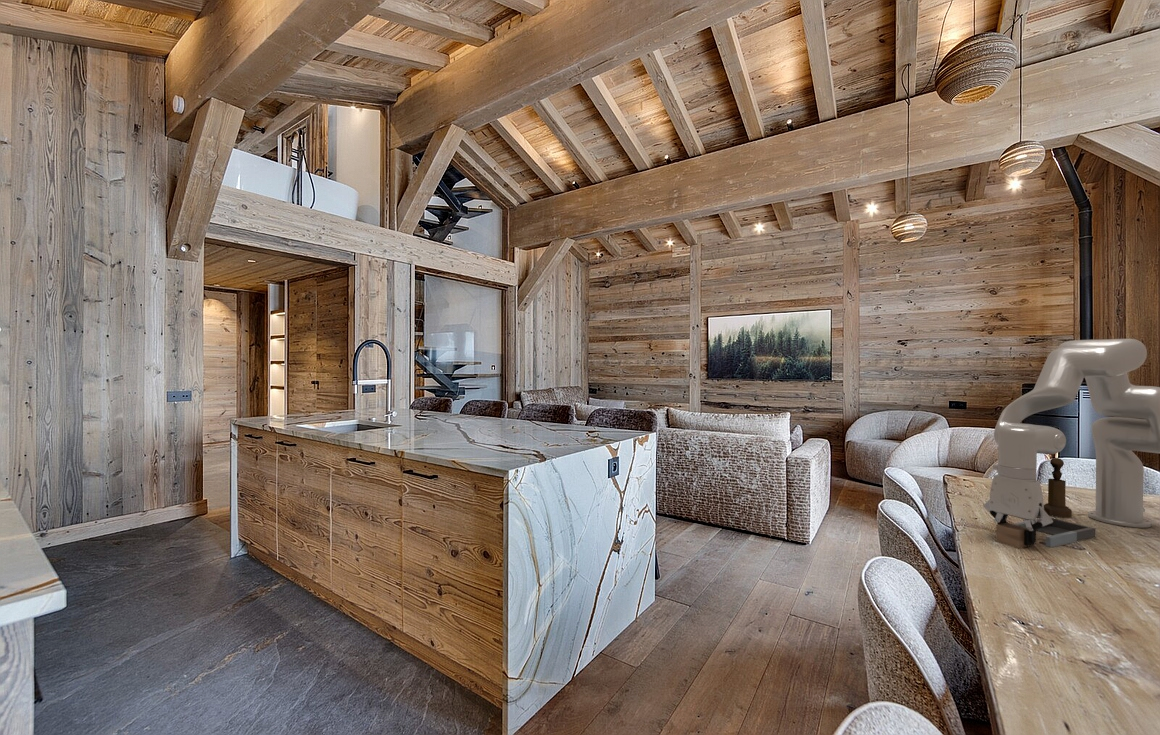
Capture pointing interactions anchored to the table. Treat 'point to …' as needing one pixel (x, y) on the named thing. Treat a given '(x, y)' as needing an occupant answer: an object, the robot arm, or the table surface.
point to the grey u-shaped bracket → (1064, 532)
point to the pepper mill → (1057, 493)
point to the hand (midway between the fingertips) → (1016, 540)
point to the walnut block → (1011, 535)
